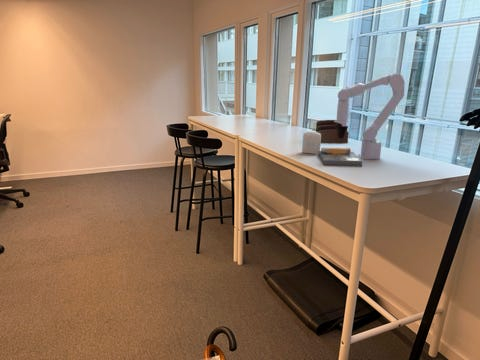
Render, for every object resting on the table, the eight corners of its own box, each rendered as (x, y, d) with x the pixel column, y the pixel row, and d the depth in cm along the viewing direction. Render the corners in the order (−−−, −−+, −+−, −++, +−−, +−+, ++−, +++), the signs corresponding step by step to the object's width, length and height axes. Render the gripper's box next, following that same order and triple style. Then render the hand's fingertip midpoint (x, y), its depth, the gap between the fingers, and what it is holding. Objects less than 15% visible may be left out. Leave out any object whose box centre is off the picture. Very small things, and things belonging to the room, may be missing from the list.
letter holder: (315, 140, 231) (316, 119, 227) (344, 140, 229) (346, 119, 225) (316, 142, 221) (318, 121, 217) (347, 143, 219) (349, 121, 215)
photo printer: (321, 153, 189) (322, 131, 186) (318, 155, 186) (319, 132, 182) (303, 151, 195) (305, 130, 191) (300, 152, 191) (302, 131, 188)
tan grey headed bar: (321, 152, 178) (321, 148, 177) (320, 151, 181) (320, 147, 181) (350, 153, 176) (350, 149, 176) (348, 151, 180) (349, 148, 179)
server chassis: (352, 156, 183) (352, 151, 182) (361, 166, 162) (362, 160, 161) (318, 155, 185) (318, 150, 184) (323, 165, 164) (324, 160, 163)
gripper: (332, 111, 187) (330, 135, 190) (337, 113, 173) (335, 140, 177) (345, 111, 186) (343, 135, 190) (351, 114, 172) (348, 140, 176)
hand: (340, 137), depth 183 cm, fingers open, 3 cm apart
